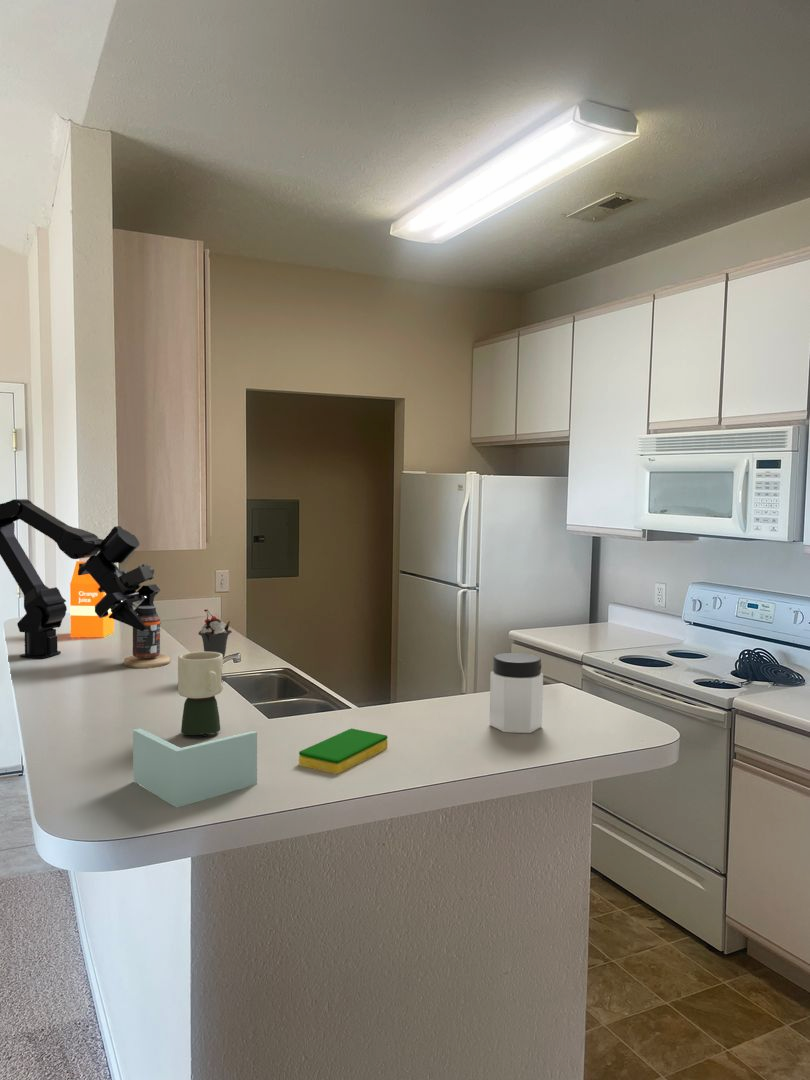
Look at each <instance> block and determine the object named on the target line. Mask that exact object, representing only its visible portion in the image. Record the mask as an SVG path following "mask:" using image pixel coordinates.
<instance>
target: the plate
mask: <svg viewBox="0 0 810 1080" xmlns="http://www.w3.org/2000/svg"><path fill="white" fill-rule="evenodd" d="M170 663H171V657H170V656H169V655H167V654H161V653H160V654H159V655H158V656H156V657H152V658H137V657H135V656H133V655H131V656H128V657H126V658H124V659H123V665H124V666H125V667H127V668H135V669H149V668H158V667H164V666H167V665H169V664H170Z"/></svg>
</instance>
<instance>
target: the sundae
mask: <svg viewBox="0 0 810 1080" xmlns="http://www.w3.org/2000/svg"><path fill="white" fill-rule="evenodd" d="M204 612H205V613H206V616H207V617H206V619H205V620H204V623H205V624H203V626H201V629H200V630H199V631H198V633H197V635H199V636H201V639H202V644H203V652H217V653H221V654H222V655H223V659H224V658H225V656H226V652H227V651H226V650H227V643H228V642H227V641H228V637H229V635H230V634H231V633H233V632H232V630H230V629H229V627H230V625H231V622H230V621H228V622H227V624H225V622H223V621H222V620H221V619H219V618H218V617H217V616H214V615H213V614H211V613H210V611H209V610H208V608H207V609H204ZM209 615H210V616H211V617H210V619H209ZM227 679H228V678H227V676H225V675H222V680H223V681H222V682H224V681H227Z"/></svg>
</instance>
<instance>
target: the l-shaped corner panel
mask: <svg viewBox="0 0 810 1080" xmlns="http://www.w3.org/2000/svg"><path fill="white" fill-rule="evenodd" d="M132 761H133V762H132V763H133V764H132V765H133V767H132V770H133V774H132V775H133V778H132V779H133V781H135V782H137V783H139V784H141V785H142V786H144V787H145V788H147V789H148V790H150V791H151V792H153V793H154V794H153V793H152V794H153V795H155V794H156V795H158V796H159V797H158V796H157V797H158V798H159V799H161V798H162V799H161V800H163V801H164V802H166V801H167V802H166V803H168V804H170V805H172V806H173V807H175V808H176V809H177V808H180V807H183V806H187V805H190V804H193V803H198V802H201V801H205V800H208V799H210V798H215V797H217V796H220V795H224V794H228V793H231V792H235V791H238V790H241V789H245V788H248V787H252V786H255V785H258V732H257V731H255V730H251V731H245V732H242V733H239V734H234V735H229V736H226V737H225V736H224V737H222V738H221V737H220V738H216V739H213V740H210V741H204V742H201V743H196V744H193V745H187V746H184V747H179V746H178V745H175V744H173V743H171V742H169V741H167V740H165V739H163V738H161V737H159V736H157V735H155V734H153V733H150V732H149V731H147V730H145V729H143V728H136V729H132ZM135 782H134V783H135ZM145 788H144V789H145ZM148 790H147V791H148ZM150 791H149V792H150ZM151 792H150V793H151ZM156 795H155V796H156Z"/></svg>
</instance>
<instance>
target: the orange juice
mask: <svg viewBox="0 0 810 1080" xmlns="http://www.w3.org/2000/svg"><path fill="white" fill-rule="evenodd" d="M86 561H87V560H86ZM86 561H82V560H81V561H80V560H78V561H76V562H75V565H74V569H73V573H72V577H71V581H70V583H69V587H70V588H69V589H70V590H69V591H70V592H69V594H70V595H69V596H70V599H69V600H70V602H69V603H70V606H69V609H70V610H69V611H70V612H69V613H70V638H71V637H105V636H107V635H109V634H111V633H112V632H114V633H115V619H112V618H111V619H110V618H109V616H110V615H111V614H112V612H111V611H110V610H111V609H109V610H108V616H107V617H103V618H99V617H98V615H97V614H96V613H95V605H96V604H97V603H98V602H99V601H100V600H101V599H102V598H103V597H104V596H105V595H106V593H105V592H101V593H100V592H99V591H98V590H97V589H98V588H99V587H100V586H99V585H98V584H97V582H96V581H95V580H94V579H93V578H92V577H91V575H90V574H86V575H80V576H79V575H78V570H79V564H80V563H85V562H86ZM111 635H112V634H111ZM109 636H110V635H109ZM107 637H108V636H107ZM105 638H106V637H105Z"/></svg>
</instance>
